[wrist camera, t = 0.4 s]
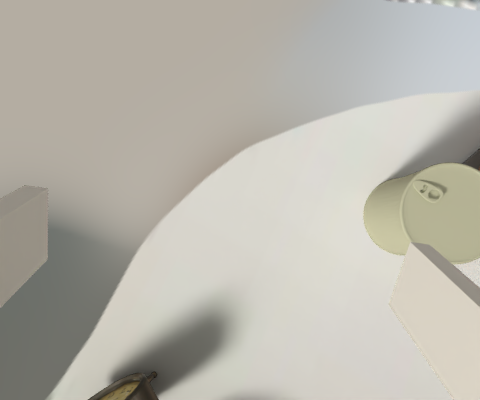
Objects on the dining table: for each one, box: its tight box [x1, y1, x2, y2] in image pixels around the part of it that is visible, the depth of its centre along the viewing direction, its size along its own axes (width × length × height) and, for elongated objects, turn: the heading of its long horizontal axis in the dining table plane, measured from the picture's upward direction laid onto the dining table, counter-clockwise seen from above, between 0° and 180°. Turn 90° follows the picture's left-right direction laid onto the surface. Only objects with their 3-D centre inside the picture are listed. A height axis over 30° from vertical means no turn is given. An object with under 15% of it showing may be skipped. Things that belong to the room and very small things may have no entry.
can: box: [364, 163, 480, 264], centre depth 39 cm, size 9×9×12 cm
